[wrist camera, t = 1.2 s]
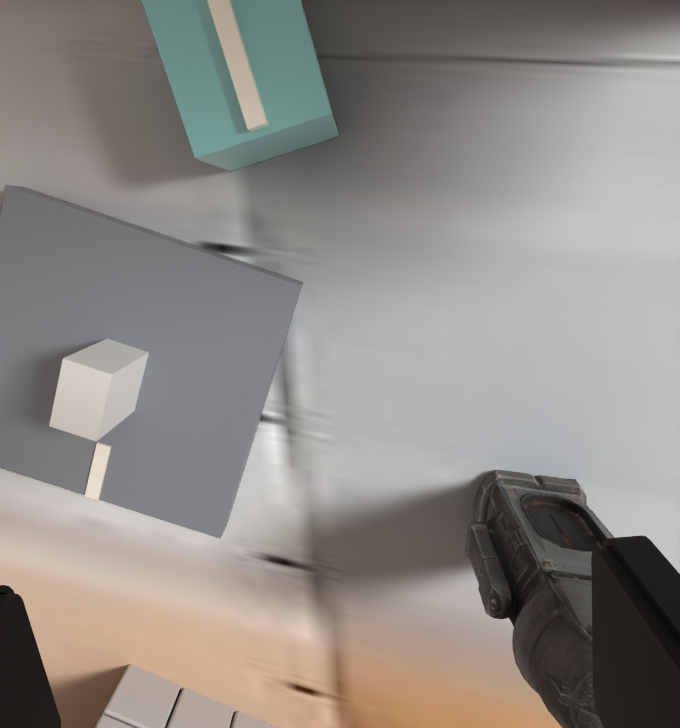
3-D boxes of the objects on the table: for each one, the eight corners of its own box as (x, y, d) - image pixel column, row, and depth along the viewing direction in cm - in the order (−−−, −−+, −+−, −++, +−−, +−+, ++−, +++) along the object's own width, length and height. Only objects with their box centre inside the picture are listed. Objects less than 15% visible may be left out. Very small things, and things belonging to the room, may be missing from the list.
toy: (447, 547, 34) (506, 790, 20) (463, 461, 33) (540, 654, 18) (584, 565, 34) (746, 822, 19) (606, 479, 32) (800, 689, 18)
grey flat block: (22, 186, 30) (-61, 178, 24) (302, 282, 30) (287, 296, 24) (-22, 445, 34) (-102, 491, 28) (226, 525, 34) (198, 586, 29)
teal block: (182, 25, 27) (124, -37, 21) (297, -16, 27) (273, -94, 20) (230, 171, 29) (190, 157, 22) (339, 135, 28) (330, 110, 22)
